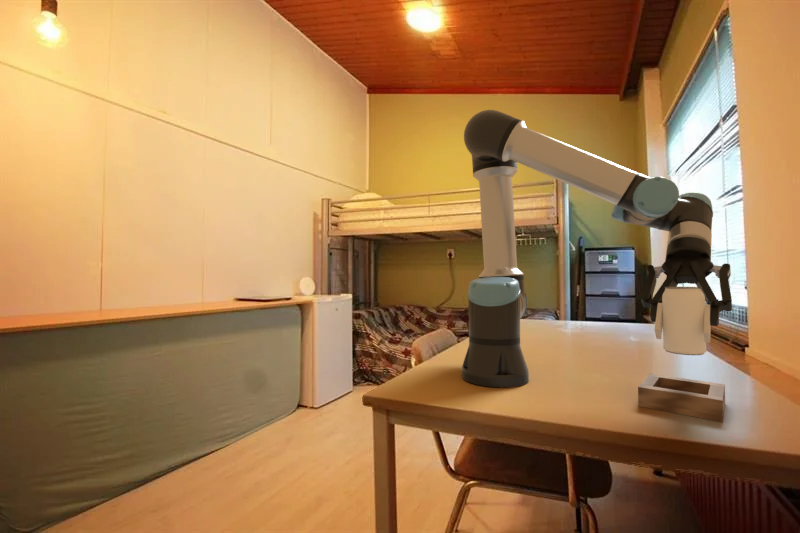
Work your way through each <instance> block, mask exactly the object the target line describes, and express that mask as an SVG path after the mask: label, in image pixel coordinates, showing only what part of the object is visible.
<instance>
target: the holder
mask: <svg viewBox="0 0 800 533" xmlns="http://www.w3.org/2000/svg"><path fill="white" fill-rule="evenodd" d="M637 403H638V405H637V407H642V408H647V409H652V410H657V411H664V412H668V413H674V414H679V415H684V416H689V417H694V418H701V419H706V420H711V421H716V422H719V423H721V422H722V423H724V416H725V407H726V384H725V383H717V382H711V381H704V380H697V379H691V378H683V377H676V376H669V375H661V374H654V373H649V374H647V376H646V377H645V378H644V379H643V380H642V381H641V383H640V384H639V385H638V386H637Z"/></svg>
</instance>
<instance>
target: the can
mask: <svg viewBox="0 0 800 533" xmlns="http://www.w3.org/2000/svg"><path fill="white" fill-rule="evenodd" d="M701 288H702V287H697V286H677V287H665V291H664V293H663V295H662V316H663V328H662V343H663V344H662V345H663V350H665V352H668V353H670V354H675V355H683V356H702V355H705V353H707V343H705V340H704V312H705V304H706V301H705V296H704V294H703V292H702V290H701Z"/></svg>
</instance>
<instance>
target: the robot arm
mask: <svg viewBox="0 0 800 533" xmlns="http://www.w3.org/2000/svg"><path fill="white" fill-rule="evenodd" d="M463 141H464V145H465V147H466V149H467V151H468V152H469V153H470V154H471V162H472V163H471V164H472V177H474V179H476V180H477V181H478V186H479V201H480V220H481V235H482V236H481V237H482V255H483V270H482V272H481V273H480V274H479V275H478V278H475V279H473V280H470V282H469V283H468V290H467V299H468V347H467V350H466V354H465V356H464V359H463V363H462V366H461V378H462V380H464V381H465V382H467V383H470V384H473V385H477V386H482V387H490V388H511V387H512V388H513V387H521V386H523V385H526V384H527V383H529V380H530V374H529V373H530V372H529V368H528V365H527V362H526V358H525V356H524V353H523V351H522V348H521V347H522V346H521V319H522V318H523V316H524V315H525V314H526V312H527V309H528V297H527V293H526V292H525V274H524V272H523V271H522V270H520V269H519V268H518V261H517V256H518V255H517V242H516V241H517V240H516V228H515V227H516V226H515V223H516V222H515V211H514V210H515V209H514V208H515V207H514V194H513V193H514V190H513V177H514V176H515V175H516V174H517V173H518V164H521V165H523V166H526V167H527V168H530V169H531V170H532V169H533V170H534V171H537V172H539V173H541V174H544V175H545V176H548V177H550V178H553V179H555V180H557V181H560V182H562V183H563V184H566V185H569V186H571V187H574V188H575V189H578V190H580V191H582V192H585V193H587V194H590V195H592V196H594V197H596V198H599V199H601V200H603V201H606V202H608V203H610V204H613V207H612V210H611V219H613V220H615V221H618V222H623V223H624V224H631V225H635V226H642V227H647V228H652V229H656V230H659V231H665V232H668V236H667V243H666V244H667V246H666V253H665V261H664V262H663V263H662V264H661V265H659V266H654V265H652V264H648V265H647V266H646V269H647V276H646V280H645V284H644V287H643V291H642V293H641V298H640V299H641V304H642V307H643V308H644V309H648V308H650V311H649V318H650V322H652V323H654V334H655V338H656V339H657V340H661V339H662V338H663V316H662V295H663V293H664V291H665V287H678V285H682V284H691V285H693V284H694V285H695V286H696V287H702V288H701V290H702V292H703V294H704V296H705V312H704V340H705V343H706V344H711V332H712V331H711V330H712V328H711V327H712V326H713V327H718V326H719V324H720V313H721V312H723V311H725V312H731V311H733V301H732V294H731V288H730V281H729V280H730V277H731V275H732V274H731V264H730V263H723V264H722V265H715V264H714V263H713V262H712V234H713V233H712V230H713V229H712V227H713V224H712V223H713V216H714V211H713V204H712V201H711V199H710V197H708V196H707V195H706V194H704V193H701V192H698V191H691V192H684V193H682V194H680V190H679V188H678V186H677V184H676V183H675V182H674V181H673V180H672V179H670V178H668V177H664V176H653V177H650V176H647V175H645V174H643V173H640V172H637V171H635V170H631V169H630V168H627V167H625V166H622V165H619V164H617V163H615V162H613V161H611V160H607V159H605V158H602V157H601V156H597V155H596V154H593V153H590V152H588V151H585V150H583V149H580V148H578V147H576V146H573V145H570V144H568V143H565V142H564V141H560V140H558V139H555V138H553V137H551V136H548V135H546V134H544V133H541V132H538V131H536V130H533V129H530V128H529V127H527V125H526V123H525V120H521V119H519V118H516V117H514V116H512V115H509V114H507V113H505V112H502V111H499V110H495V109H484V110H482V111H479V112H477V113H476V114H474V115H473V116H472V117H471V118H470V119H469V120H468V122H467V123H466V125H465V129H464V132H463ZM661 273H662V274H664V275H665V276H666V278H665V279H664V281H663V282H662V284H661V285H660V287H659V288H658V289H657V291H656V293H654V292H655V290H656V285H657V283H658V282H657V281H658V280H657V279H659V278H660V277H661ZM712 273H715V276H716V277H717V279H719V288H720V293H721V300H719V298H718V299H717V297H716V295H715V293H714V291H713V289H712V288H711V286H710V284H709V282H708V281H707V279H706V278H707V277H708V276H710V275H711V274H712Z"/></svg>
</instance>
